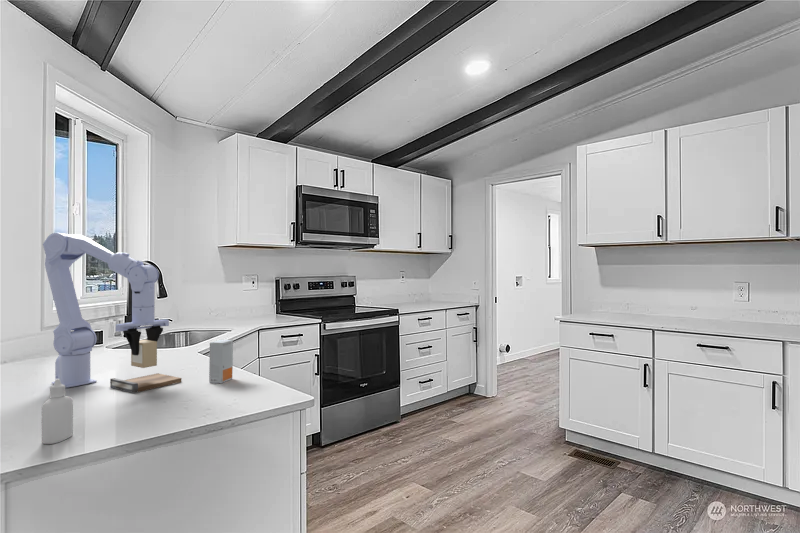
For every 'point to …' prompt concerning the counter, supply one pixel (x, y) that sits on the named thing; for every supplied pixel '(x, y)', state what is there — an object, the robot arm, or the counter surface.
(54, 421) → the eye dropper bottle
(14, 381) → the counter surface
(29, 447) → the counter surface
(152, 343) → the box
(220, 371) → the skincare box
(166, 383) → the tan tray
